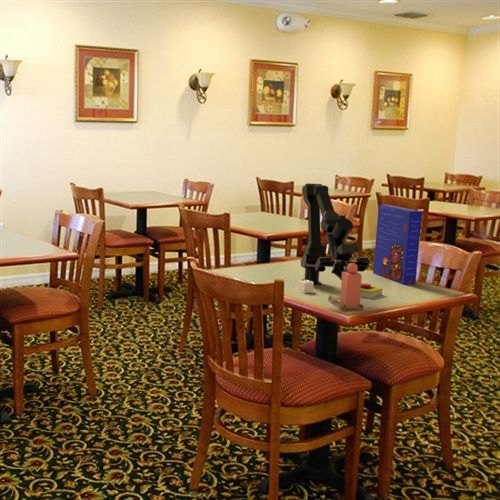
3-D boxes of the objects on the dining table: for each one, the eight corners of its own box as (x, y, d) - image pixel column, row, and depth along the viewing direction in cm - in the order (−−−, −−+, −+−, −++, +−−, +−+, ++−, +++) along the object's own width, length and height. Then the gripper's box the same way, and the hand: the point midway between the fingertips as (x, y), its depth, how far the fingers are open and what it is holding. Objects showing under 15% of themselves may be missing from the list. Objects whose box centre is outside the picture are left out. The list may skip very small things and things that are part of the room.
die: (298, 290, 251) (298, 279, 250) (307, 290, 252) (307, 278, 252) (304, 293, 247) (304, 281, 246) (313, 292, 249) (313, 281, 248)
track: (327, 300, 237) (328, 295, 237) (347, 300, 239) (348, 295, 239) (342, 311, 224) (343, 305, 224) (363, 310, 226) (364, 305, 226)
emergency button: (374, 289, 242) (339, 281, 251) (373, 301, 243) (338, 293, 252) (387, 285, 249) (353, 278, 258) (386, 297, 250) (352, 289, 259)
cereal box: (415, 284, 272) (422, 211, 267) (403, 284, 270) (410, 211, 265) (384, 272, 292) (390, 204, 287) (373, 273, 290) (378, 204, 284)
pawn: (339, 302, 230) (343, 261, 227) (353, 302, 231) (356, 261, 229) (345, 306, 225) (348, 264, 223) (359, 306, 227) (362, 264, 224)
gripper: (320, 234, 230) (329, 272, 221) (369, 234, 234) (381, 271, 226) (310, 252, 238) (319, 289, 230) (358, 252, 243) (369, 289, 235)
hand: (347, 284), depth 230 cm, fingers closed
